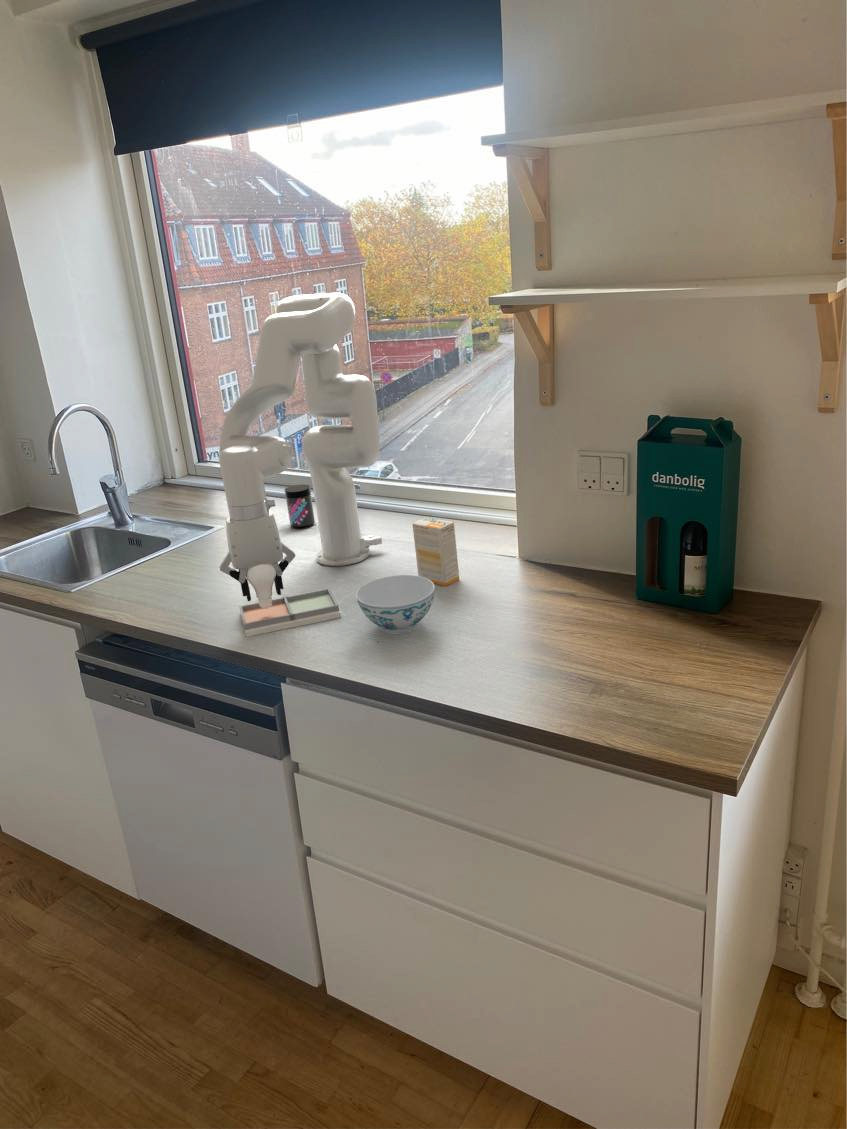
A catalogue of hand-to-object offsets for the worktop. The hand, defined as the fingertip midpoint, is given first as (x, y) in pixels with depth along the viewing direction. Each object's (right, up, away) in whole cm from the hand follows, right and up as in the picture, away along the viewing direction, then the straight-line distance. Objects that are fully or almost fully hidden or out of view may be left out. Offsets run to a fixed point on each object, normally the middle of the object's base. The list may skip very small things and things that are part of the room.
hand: (263, 594), depth 174 cm
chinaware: (+27, -6, -7) cm, 29 cm away
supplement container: (0, +16, +58) cm, 60 cm away
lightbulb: (0, -3, +1) cm, 3 cm away
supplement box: (+35, +3, +13) cm, 38 cm away
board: (+5, -4, +3) cm, 7 cm away
